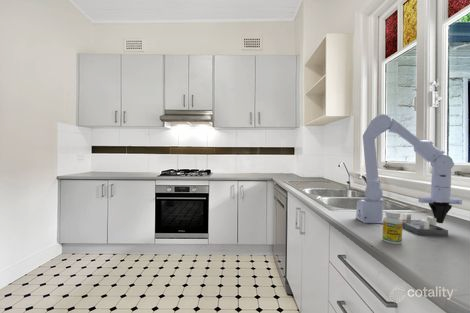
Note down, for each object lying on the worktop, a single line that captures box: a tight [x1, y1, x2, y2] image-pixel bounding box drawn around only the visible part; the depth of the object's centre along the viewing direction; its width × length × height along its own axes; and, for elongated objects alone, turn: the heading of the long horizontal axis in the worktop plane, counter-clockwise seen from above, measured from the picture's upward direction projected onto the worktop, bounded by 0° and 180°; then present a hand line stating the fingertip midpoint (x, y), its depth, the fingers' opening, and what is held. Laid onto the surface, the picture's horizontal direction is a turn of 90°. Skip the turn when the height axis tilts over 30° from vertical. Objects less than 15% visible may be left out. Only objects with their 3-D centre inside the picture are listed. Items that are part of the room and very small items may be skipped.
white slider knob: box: [426, 215, 437, 226], centre depth 96 cm, size 2×2×2 cm, turn 177°
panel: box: [401, 212, 449, 237], centre depth 96 cm, size 10×13×5 cm
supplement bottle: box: [382, 210, 403, 245], centre depth 82 cm, size 5×5×10 cm
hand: (439, 222), depth 96 cm, fingers closed
